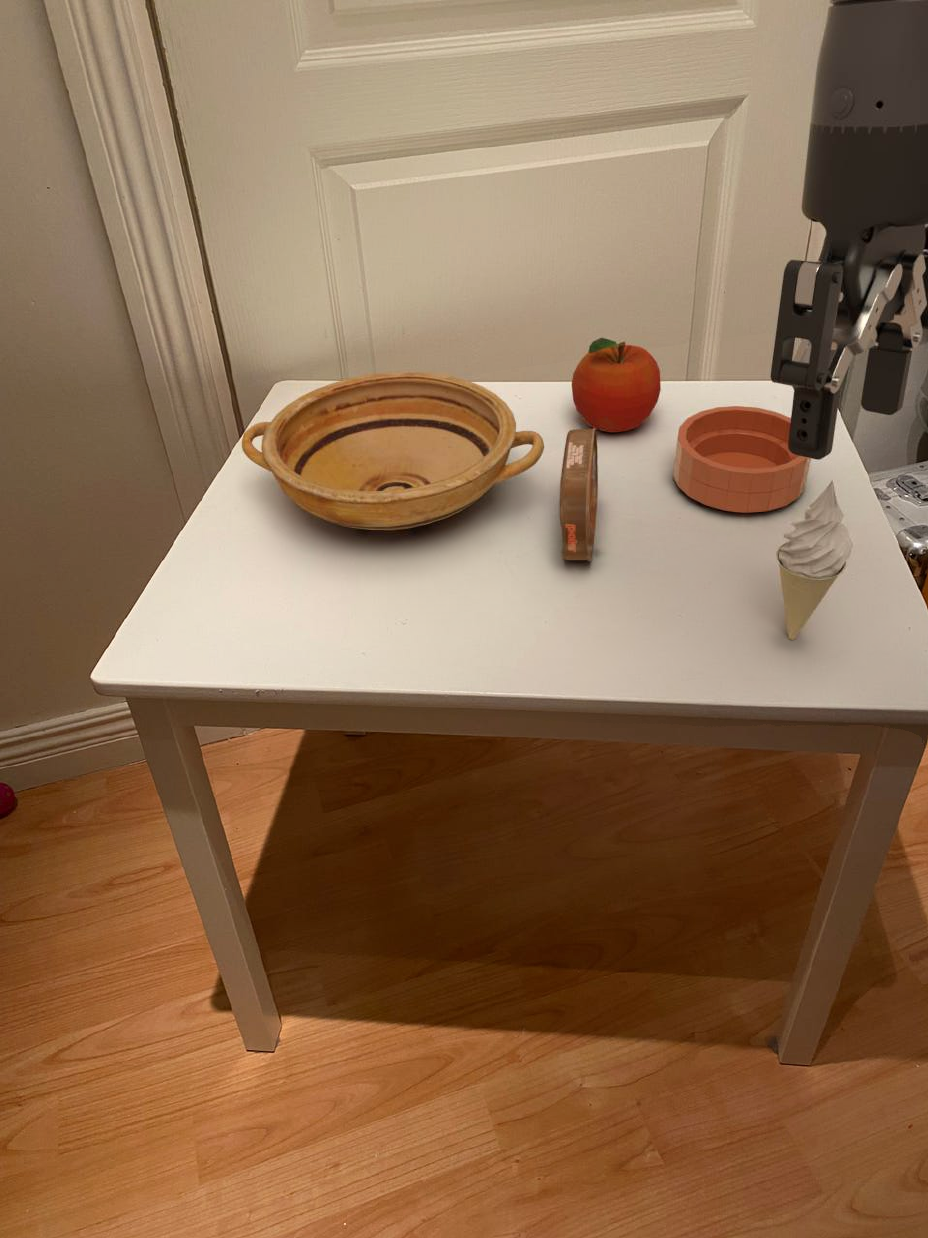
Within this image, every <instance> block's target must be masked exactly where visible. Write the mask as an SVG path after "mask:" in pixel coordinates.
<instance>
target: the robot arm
mask: <svg viewBox="0 0 928 1238" xmlns="http://www.w3.org/2000/svg"><path fill="white" fill-rule="evenodd" d="M828 3H829V4H830V6H829V7H828V9H827V15H826V21H825V26H824V30H823V35H822V39H821V43H820V49H819V52H818V57H817V61H816V62H817V63H816V70H815V77H814V78H815V80H814V85H813V86H814V87H813V95H812V105H811V106H812V107H811V116H810V124H809V133H808V141H807V142H808V143H807V150H806V151H807V152H806V161H805V169H804V180H803V189H802V199H801V211H802V214H803V215H804V216H805V218H806V219H808V220H810V221H811V222H814V223H819V224H820V225H822V227H823V228H824V229H825V236H824V240H823V244H822V248H821V251H820V253H819V257H818V259H817V261H810V260H798V259H790V260H789V261H788V262H787V264H786V265H785V266H784V271H783V276H782V283H781V292H780V299H779V305H778V306H779V307H778V315H777V320H776V321H777V322H776V329H775V331H776V332H775V338H774V345H773V352H772V353H773V354H772V361H771V367H770V380H771V382H772V383H774V384H779V385H785V386H790V387H792V389H793V397H792V406H791V415H790V418H791V423H790V431H789V440H788V448H789V450H790V452H791V453H793V454H795V455H799V456H803V457H808V458H811V460H812V459H813V460H816V461H820V460H822V459H824V458H825V457H827V456H829V455H830V454H831V453H832V450H833V445H834V440H835V439H834V438H835V431H836V424H837V418H838V411H839V405H840V404H839V403H840V396H841V390H839V389H840V388H841V385H842V384H843V380H844V378H845V376H846V374H847V372H848V369H849V366H850V364H851V362H852V360H853V358H854V357H855V356H856V355H860V354H862V353H864V351H865V350H866V349H867V348H868V345H869V343H870V341H871V342H872V343H875V344H877V345H874V344H873V346H871V347H869V348H868V354H867V362H866V368H865V373H864V381H863V387H862V393H861V398H860V399H861V400H860V405H861V407H862V409H863V410H864V411H866V412H870V413H876V414H881V415H886V416H892V415H894V414H896V413H898V412H899V411H900V410H902V408H903V406H904V400H905V394H906V389H907V384H908V383H907V382H908V379H909V378H908V377H909V371H910V367H911V360H912V354H913V350H911V349H917V348H918V347H919V345H920V343H921V341H922V339H923V330H926V331H928V0H828ZM796 339H800V343H799V346H798V348H797V350H796V353H795V355H794V349H795V342H796ZM832 351H834V353H833V355H832V357H831V352H832ZM793 357H794V358H793Z"/></svg>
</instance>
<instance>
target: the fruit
mask: <svg viewBox="0 0 928 1238" xmlns="http://www.w3.org/2000/svg"><path fill="white" fill-rule="evenodd" d="M661 385H662V384H661V370H660V367H659V365H658V361H656V359H655V358H654V356H653V355H652V354H651V353H650V352H649V351H648V350H647V349H645V348H643V347H642V346H637V345H632V344H626V341H622V342H619V343H617V341H614V340H612V339H608V338H604V337H599V338H597V339H595V340H593V341H592V342H591V344H590V345H589V347H588V352H587V353H586V354H585V355H584V356H583V357H582V358H581V359H580V361H579V362H578V364H577V365H576V367H575V369H574V372H573V373H572V379H571V392H572V393H571V394H572V401H573V403H574V406H575V409H576V411H577V412H578V414H579V415H580V416H581V418H582V419H583V420H584V423H586V424H587V425H589V426H590V427H592V428H596V430H599V431H602V432H607V433H620V432H626V431H631V430H633V429H636V428H637V427H639V426H640V425H642V424H643V423H644V422H645V421H646V420H647V419H649V417H650V415H651V414H652V412H653V411H654V409H655V407H656V405H657V403H658V401H659V398H660V393H661V390H662V388H661V387H662V386H661Z"/></svg>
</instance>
